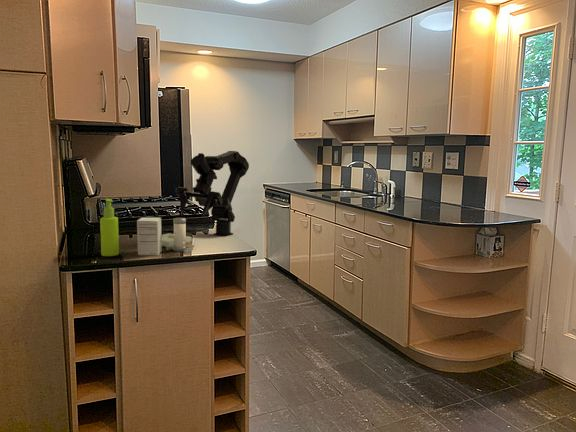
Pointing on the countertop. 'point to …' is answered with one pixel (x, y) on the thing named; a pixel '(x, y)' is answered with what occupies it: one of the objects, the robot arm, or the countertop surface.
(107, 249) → the soap dispenser
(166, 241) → the tray
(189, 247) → the blocks
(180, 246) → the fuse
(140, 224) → the supplement box
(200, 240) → the countertop surface
